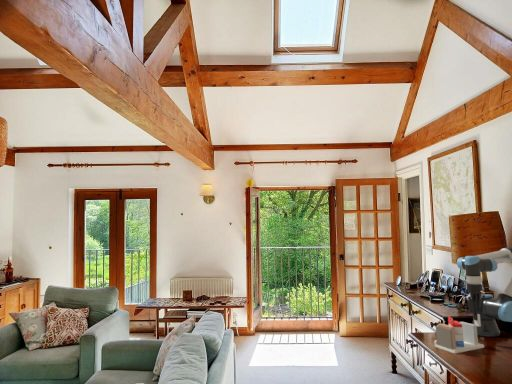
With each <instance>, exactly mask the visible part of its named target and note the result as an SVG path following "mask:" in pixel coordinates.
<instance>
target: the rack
mask: <svg viewBox="0 0 512 384" xmlns="http://www.w3.org/2000/svg"><path fill="white" fill-rule="evenodd" d="M435 333H436V335H435V336H436V340H434V347H435V348H438V349H440V350H444V351H446V352H450V353H452V354H459V353H465V352H468V351H470V352H471V351H475V350H479V349H484V348H485V344H482V343H480V342H478V344H476V345H474V344H471V343H468V342H464V347H456V340H455V329H454V327H453V326H449V324H445V323H437V325H435Z"/></svg>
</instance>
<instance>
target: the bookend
mask: <svg viewBox="0 0 512 384" xmlns="http://www.w3.org/2000/svg"><path fill="white" fill-rule="evenodd" d="M458 322H459V323H461V324H462V330H463V340H464V342H468V343H471V344H474V345H476V344H478V343H479V339H478V336H479V335H477V326H476V325H474V324H472V323H469V322H465V321H458Z"/></svg>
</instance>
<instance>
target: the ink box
mask: <svg viewBox="0 0 512 384" xmlns="http://www.w3.org/2000/svg"><path fill="white" fill-rule="evenodd" d="M447 322H448V325H449V326H453V327H454V329H455V340H456V347H464V340H463V330H462V324H461V323H459V322H460V321H458V320H454V319H453V318H452V317H451V316H450V315H448V316H447Z"/></svg>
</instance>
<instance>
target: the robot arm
mask: <svg viewBox="0 0 512 384" xmlns="http://www.w3.org/2000/svg"><path fill="white" fill-rule="evenodd" d="M503 263H505V264H510V263H511V264H512V245H511V246H509V247H504V248H503V247H502V248H501V249H500V250H497V251H496V250H495V251H492V252H487V253H483V254H477V255H466V256H463V257H459V258H457V261H456V265H457V267H458V268H459V269H460V270H464V271H465V277H466V278H465V280H466V289H467V291H468V293H467V294H468V295H466V296H465V300H466V302H467V303H466V304H467V306H468V310H469V313H470V314H471V315H472V319H473V320H472V323H471V324H474V325H476V326H477V336H482V337H499V336H500V335H501V331H500V329H499V327H498V324H497V321H496V320H500V321H503V322H508V323H509V322H510V323H512V277H511V278H510V280H509V282H508V283H507V285H506V287H505V289H504V290H503V292H499V293H498V294H497V296H496V297H494V295H492V294H489V293H488V294H482V291H483V285H482V283H483V282H482V273H490V272H495V271H496V270H498V264H503Z"/></svg>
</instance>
